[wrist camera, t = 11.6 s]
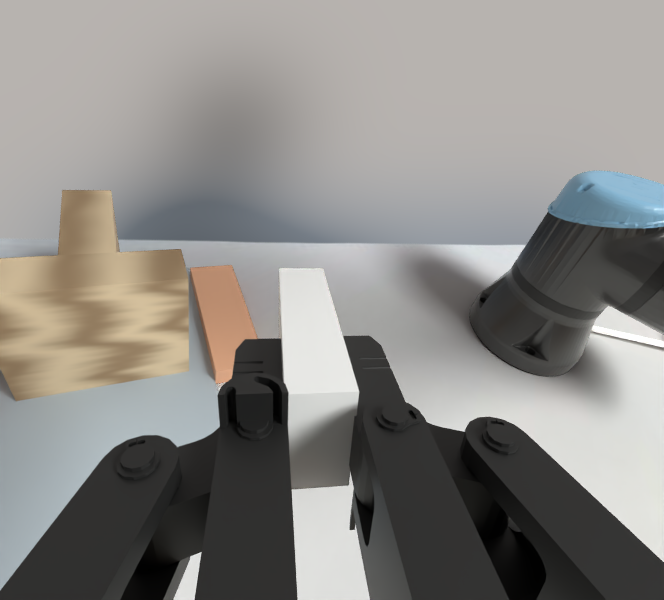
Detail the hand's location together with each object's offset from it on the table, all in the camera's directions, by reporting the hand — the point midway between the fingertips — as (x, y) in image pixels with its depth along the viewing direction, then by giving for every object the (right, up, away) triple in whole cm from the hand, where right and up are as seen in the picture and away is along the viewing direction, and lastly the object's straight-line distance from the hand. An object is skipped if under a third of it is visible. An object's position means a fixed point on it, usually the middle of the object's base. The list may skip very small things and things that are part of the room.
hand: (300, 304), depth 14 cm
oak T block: (-22, -3, +28) cm, 36 cm away
